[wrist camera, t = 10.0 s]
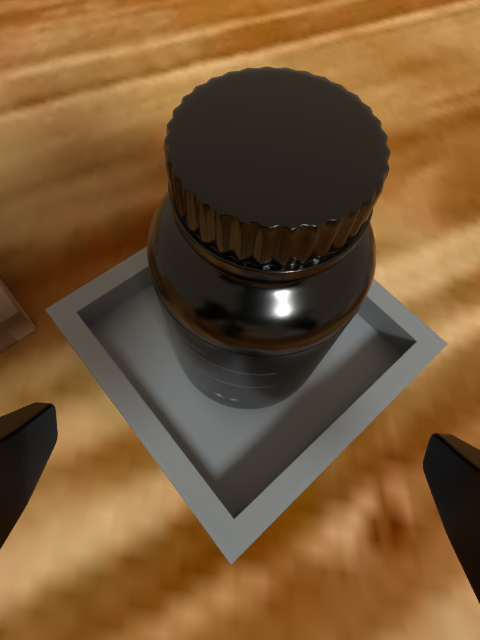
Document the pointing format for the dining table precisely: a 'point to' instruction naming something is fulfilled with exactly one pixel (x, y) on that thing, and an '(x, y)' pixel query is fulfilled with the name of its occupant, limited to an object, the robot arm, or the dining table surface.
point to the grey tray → (231, 423)
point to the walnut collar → (12, 319)
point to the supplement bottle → (265, 229)
